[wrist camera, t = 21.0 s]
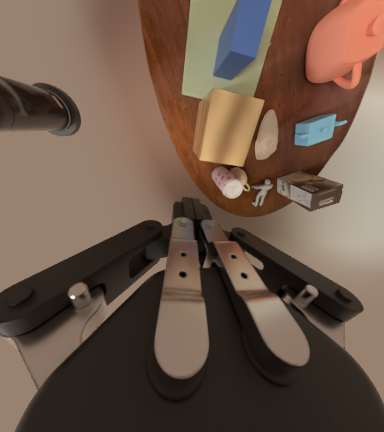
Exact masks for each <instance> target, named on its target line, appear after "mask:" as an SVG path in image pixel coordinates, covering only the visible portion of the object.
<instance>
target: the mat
mask: <svg viewBox="0 0 384 432" xmlns="http://www.w3.org/2000/svg"><path fill="white" fill-rule="evenodd" d="M236 1H237V0H191V2H190V12H189V23H188V33H187V44H186V54H185V64H184V75H183V85H182V95H186V96H190V97H194V98H199V99H203V98H204V97H205V96H206V95H207V94H208V93H209V92H210V91H211V89H212V88H217V89H221V90H225V91H229V92H233V93H237V94H241V95H246V96H250V97H254V94H255V91H256V87H257V84H258V81H259V77H260V74H261V71H262V67H263V64H264V61H265V57H266V54H267V50H268V47H269V44H270V40H271V37H272V34H273V30H274V27H275V24H276V20H277V17H278V13H279V10H280V7H281V3H282V0H272V2H271V5H270V9H269V13H268V16H267V20H266V24H265V27H264V31H263V35H262V38H261V42H260V45H259V49H258V53H257V56H256V59H255V60H254V61H252V62H251V63H250V64H249V65H248V66H247V67H246V68H244V69H243V70H242V71H241V72H240V73H239V74H238V75H237V76H235V77H234V78H233V79H232V80H227V79H223V78H219V77H215V76H213V72H214V67H215V61H216V55H217V49H218V44H219V38H220V35H221V33H222V30H223V28H224V26H225V24H226V22H227V20H228V18H229V16H230V13H231V11H232V9H233V7H234V5H235V3H236Z"/></svg>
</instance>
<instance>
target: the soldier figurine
mask: <svg viewBox="0 0 384 432" xmlns="http://www.w3.org/2000/svg"><path fill="white" fill-rule="evenodd" d="M270 183H271V182H270V180H268V179H267V180H265V184H264V185H262V186H252V187H254V188H255V189H261V191H260V192H259V193H258V194H257V196H256V202H252V204H253V205H254V206H257V204H258V202H259V203H260V204H259V205H260V206H262V203H263V201H264V197H265V196H266V194H267V191H268V190H269V189H270V188H272V187H273V185H272V184H270ZM252 187H251V188H252ZM260 196H261V201H259V197H260Z"/></svg>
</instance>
